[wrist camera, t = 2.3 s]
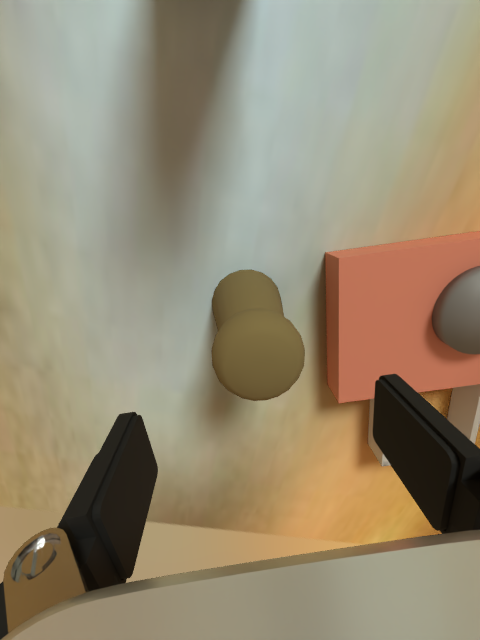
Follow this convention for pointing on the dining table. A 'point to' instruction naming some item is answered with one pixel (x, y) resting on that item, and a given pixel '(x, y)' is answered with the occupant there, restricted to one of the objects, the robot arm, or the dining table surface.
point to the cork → (254, 338)
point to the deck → (407, 322)
